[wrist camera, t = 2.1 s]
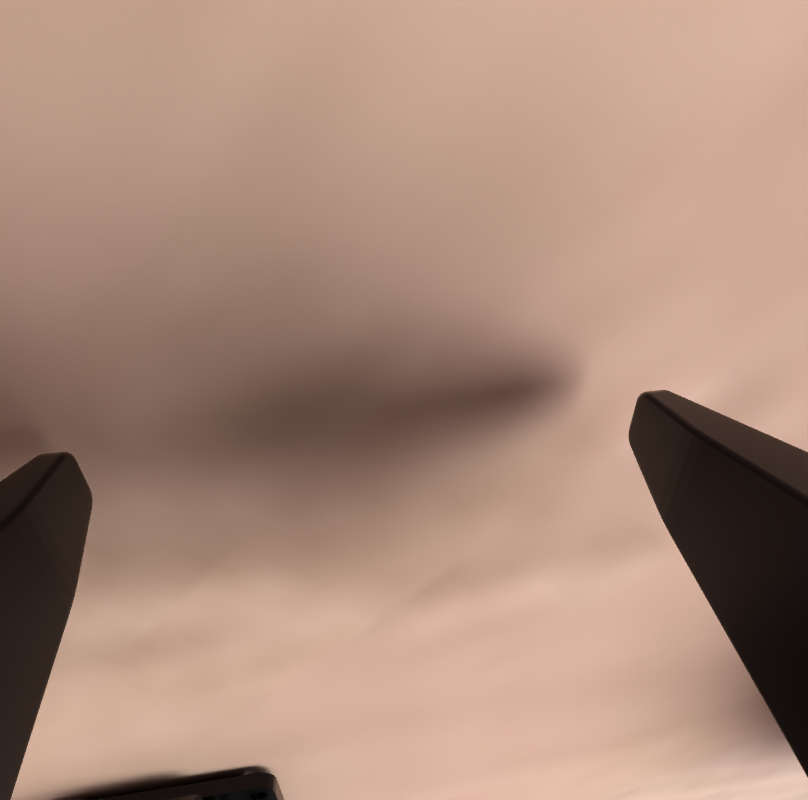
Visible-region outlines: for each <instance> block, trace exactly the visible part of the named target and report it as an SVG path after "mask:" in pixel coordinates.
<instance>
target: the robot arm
mask: <svg viewBox="0 0 808 800" xmlns="http://www.w3.org/2000/svg"><path fill="white" fill-rule="evenodd" d="M629 442H630V445H631V448H632V450H633V453H634V455H635V457H636V460H637V462H638V465H639V467H640V469H641V472H642V474H643V476H644V479H645V481H646V483H647V486H648V488H649V490H650V493H651V495H652V497H653V500H654V502H655V504H656V507H657V509H658V511H659V513H660V515H661V518H662V520H663V522H664V524H665V525H666V527H667V529H668V531H669V533H670V535H671V537H672V538H673V540H674V542H675V544H676V545H677V547H678V549H679V551H680V552H681V554H682V556H683V558H684V560H685V561H686V563H687V565H688V567H689V568H690V570H691V572H692V574H693V575H694V577H695V579H696V581H697V583H698V584H699V586H700V588H701V590H702V591H703V593H704V595H705V597H706V598H707V600H708V602H709V604H710V605H711V607H712V609H713V611H714V613H715V614H716V616H717V618H718V620H719V621H720V623H721V625H722V627H723V628H724V630H725V632H726V634H727V636H728V637H729V639H730V641H731V643H732V644H733V646H734V648H735V650H736V651H737V653H738V655H739V657H740V659H741V660H742V662H743V664H744V666H745V667H746V669H747V671H748V673H749V674H750V676H751V678H752V680H753V682H754V683H755V685H756V687H757V689H758V690H759V692H760V694H761V696H762V697H763V699H764V701H765V703H766V705H767V706H768V708H769V710H770V712H771V713H772V715H773V717H774V719H775V720H776V722H777V724H778V726H779V727H780V729H781V731H782V733H783V735H784V736H785V738H786V740H787V742H788V743H789V745H790V747H791V749H792V750H793V752H794V754H795V756H796V758H797V759H798V761H799V763H800V765H801V766H802V768H803V770H804V772H805V773H806V775H807V777H808V452H806V451H804V450H801V449H799V448H797V447H795V446H792V445H790V444H788V443H785V442H783V441H781V440H779V439H776V438H774V437H772V436H770V435H767V434H765V433H763V432H761V431H758V430H756V429H754V428H751V427H749V426H747V425H745V424H742V423H740V422H738V421H736V420H733V419H731V418H729V417H727V416H724V415H722V414H720V413H718V412H715V411H713V410H711V409H708V408H706V407H704V406H702V405H699V404H697V403H695V402H693V401H690V400H688V399H686V398H684V397H681V396H679V395H677V394H674V393H672V392H670V391H667V390H658V391H649V392H644V393H642V394H640V396H639V397H638V399H637V402H636V406H635V410H634V414H633V417H632V421H631V425H630V429H629ZM91 509H92V494H91V491H90V488H89V486H88V484H87V482H86V480H85V478H84V476H83V474H82V471H81V469H80V467H79V465H78V463H77V461H76V459H75V458H74V456H73V455H72V454H70V453H68V452H58V453H48V454H41V455H38V456H37V457H35V458H34V459H32V460H31V461H29V462H28V463H26V464H25V465H24V466H22V467H21V468H19V469H18V470H16V471H15V472H13V473H12V474H11V475H9V476H8V477H6V478H5V479H3V480H2V481H1V482H0V800H10V799H11V796H12V793H13V790H14V786H15V783H16V780H17V777H18V774H19V771H20V768H21V764H22V761H23V758H24V755H25V752H26V749H27V745H28V742H29V739H30V736H31V733H32V730H33V727H34V723H35V720H36V717H37V714H38V711H39V708H40V705H41V701H42V698H43V695H44V692H45V689H46V686H47V683H48V679H49V676H50V673H51V670H52V667H53V664H54V661H55V657H56V654H57V651H58V648H59V645H60V642H61V638H62V635H63V632H64V629H65V626H66V623H67V620H68V616H69V613H70V610H71V607H72V603H73V600H74V596H75V592H76V587H77V583H78V578H79V573H80V567H81V562H82V557H83V552H84V546H85V541H86V536H87V530H88V525H89V520H90V515H91ZM96 800H284V799H283V796H282V793H281V790H280V787H279V785H278V782H277V779H276V777H275V776H274V775H272V774H269V773H255V774H249V775H243V776H237V777H231V778H225V779H219V780H213V781H206V782H200V783H194V784H188V785H182V786H176V787H170V788H163V789H157V790H151V791H145V792H139V793H133V794H127V795H121V796H114V797H108V798H102V799H96Z"/></svg>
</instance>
